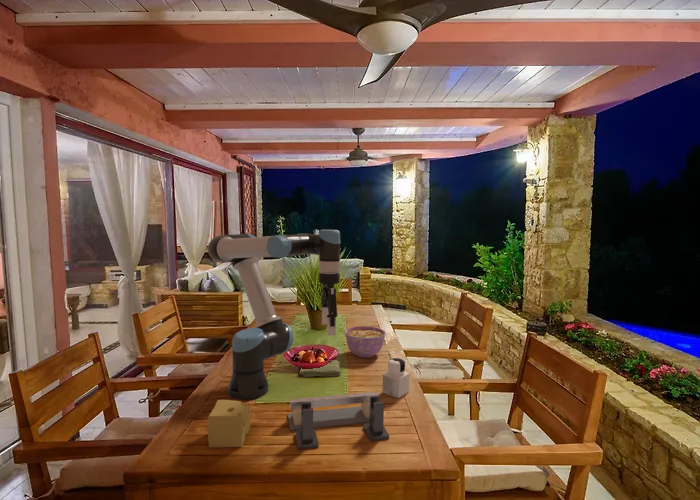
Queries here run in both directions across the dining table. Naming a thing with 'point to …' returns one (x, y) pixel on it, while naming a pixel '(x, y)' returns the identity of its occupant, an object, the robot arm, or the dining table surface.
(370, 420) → the grey rack
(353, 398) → the rail
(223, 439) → the cheese
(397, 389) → the container
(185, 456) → the dining table surface
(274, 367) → the dining table surface
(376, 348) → the bowl of food
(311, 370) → the washcloth
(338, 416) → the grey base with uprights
